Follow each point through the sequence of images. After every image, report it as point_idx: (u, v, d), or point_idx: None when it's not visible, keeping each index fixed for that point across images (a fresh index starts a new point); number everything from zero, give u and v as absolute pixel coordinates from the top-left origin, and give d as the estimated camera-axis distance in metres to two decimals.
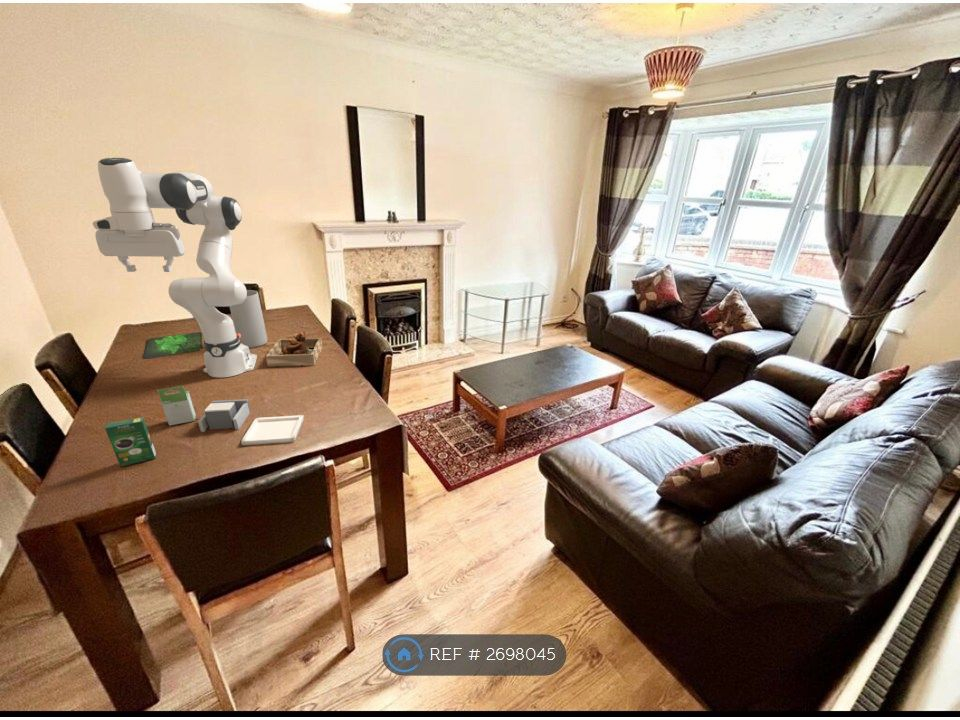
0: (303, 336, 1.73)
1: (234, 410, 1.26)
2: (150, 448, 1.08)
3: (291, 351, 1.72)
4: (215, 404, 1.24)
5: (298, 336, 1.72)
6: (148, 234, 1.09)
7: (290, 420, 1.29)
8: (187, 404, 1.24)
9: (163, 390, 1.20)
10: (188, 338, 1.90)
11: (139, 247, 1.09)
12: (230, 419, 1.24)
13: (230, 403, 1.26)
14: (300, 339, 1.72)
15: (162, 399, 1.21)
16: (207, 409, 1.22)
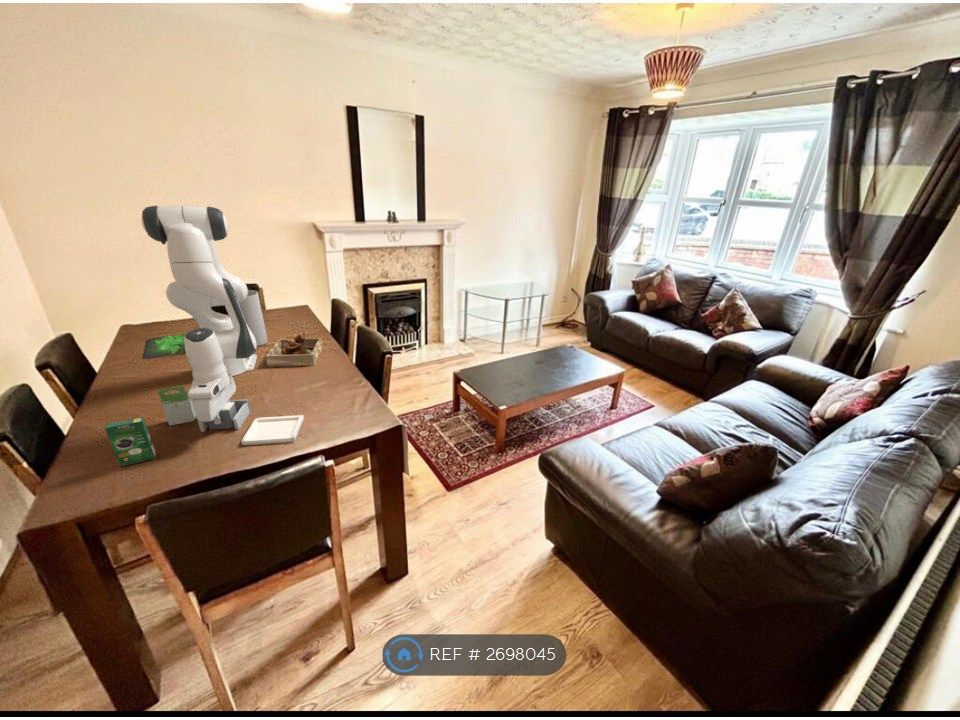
0: (302, 337, 1.71)
1: (234, 410, 1.26)
2: (150, 448, 1.08)
3: (290, 352, 1.71)
4: None
5: (298, 338, 1.70)
6: None
7: (290, 420, 1.29)
8: (187, 404, 1.24)
9: (163, 390, 1.20)
10: None
11: (223, 397, 1.23)
12: (230, 419, 1.24)
13: (230, 402, 1.26)
14: (299, 340, 1.71)
15: (162, 399, 1.21)
16: None
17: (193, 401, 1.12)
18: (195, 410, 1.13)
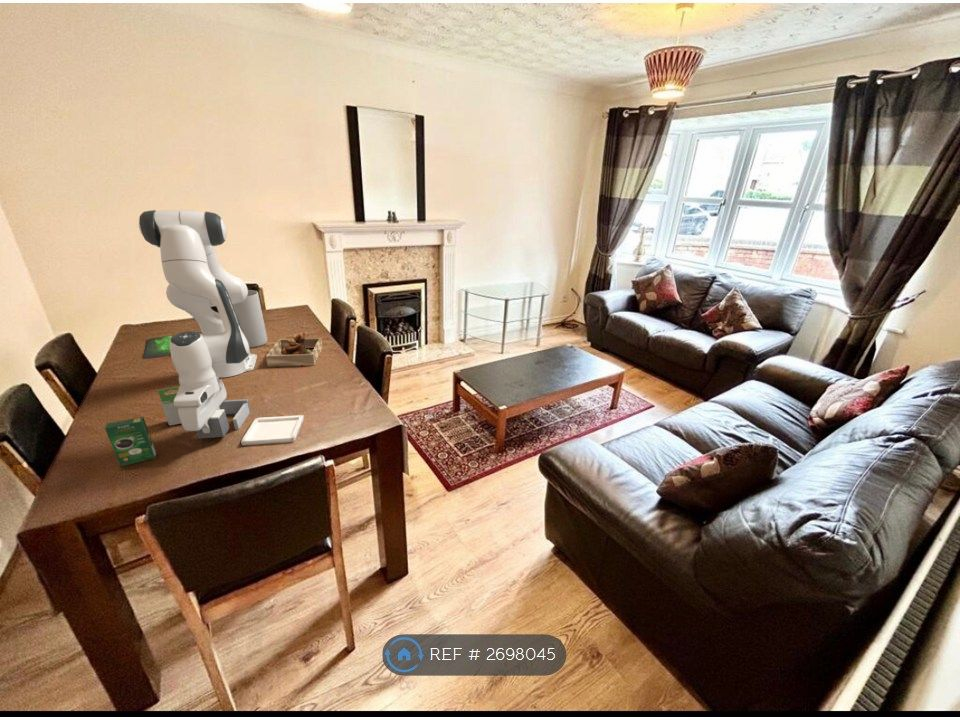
0: (302, 337, 1.71)
1: (224, 418, 1.19)
2: (150, 448, 1.08)
3: (290, 352, 1.71)
4: None
5: (298, 338, 1.70)
6: None
7: (290, 420, 1.29)
8: None
9: (163, 390, 1.20)
10: None
11: (213, 404, 1.16)
12: (220, 427, 1.17)
13: (220, 410, 1.18)
14: (299, 340, 1.71)
15: (162, 399, 1.21)
16: None
17: (179, 409, 1.05)
18: (181, 419, 1.06)
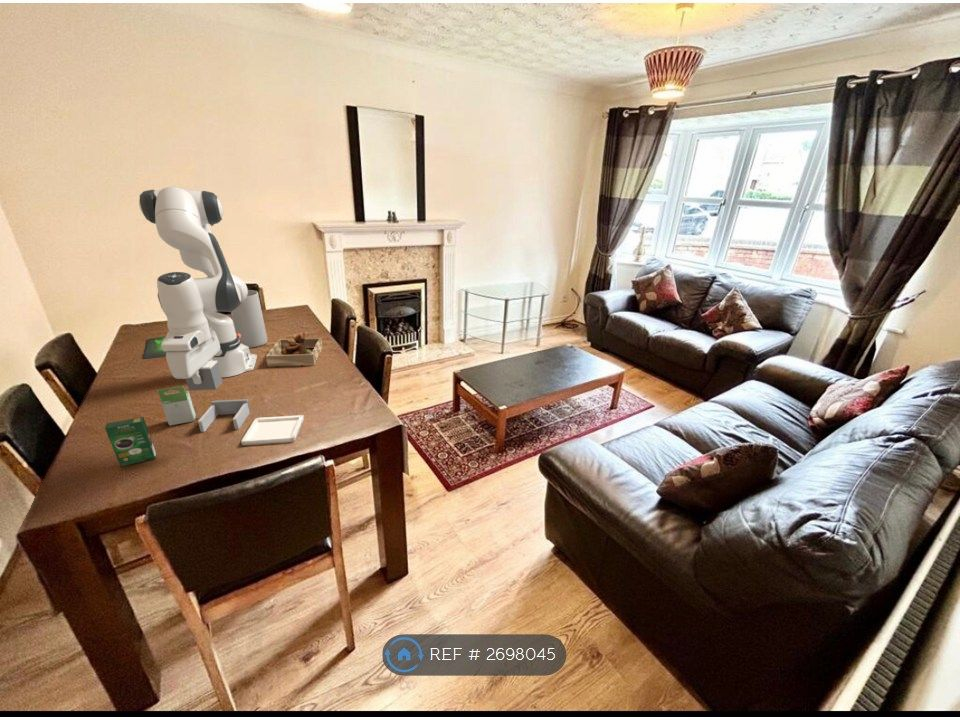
0: (302, 337, 1.71)
1: (217, 370, 1.12)
2: (150, 448, 1.08)
3: (290, 352, 1.71)
4: None
5: (298, 338, 1.70)
6: None
7: (290, 420, 1.29)
8: (187, 404, 1.24)
9: (163, 390, 1.20)
10: None
11: (204, 354, 1.09)
12: (212, 379, 1.09)
13: (212, 361, 1.11)
14: (299, 340, 1.71)
15: (162, 399, 1.21)
16: None
17: (167, 354, 0.98)
18: (169, 364, 0.98)
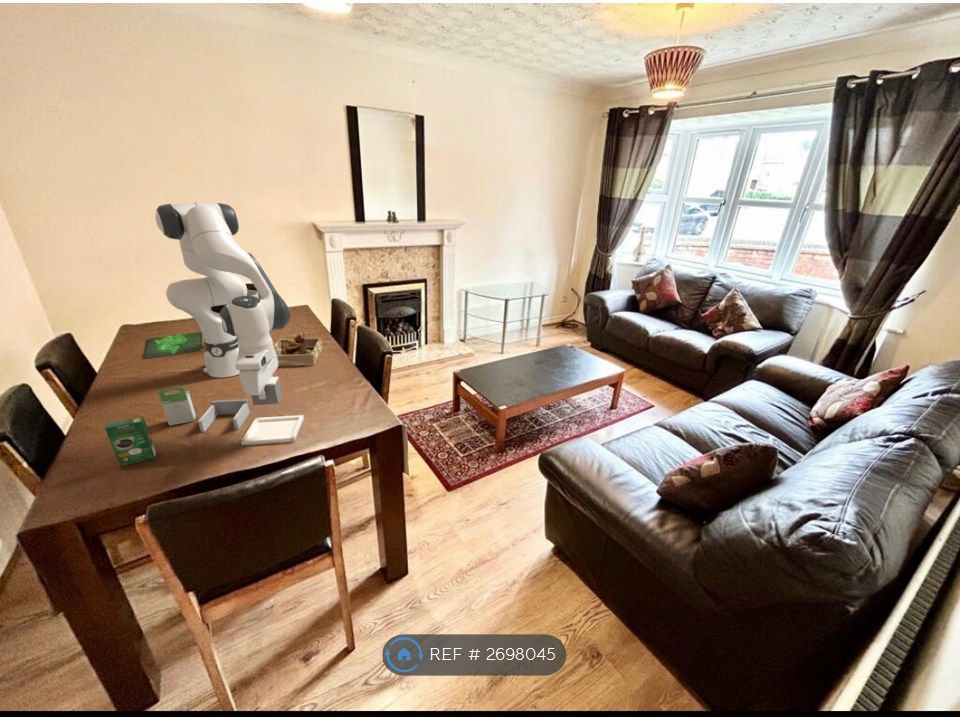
0: (302, 337, 1.71)
1: (278, 385, 1.19)
2: (150, 448, 1.08)
3: (290, 352, 1.71)
4: None
5: (298, 338, 1.70)
6: None
7: (290, 420, 1.29)
8: (187, 404, 1.24)
9: (163, 390, 1.20)
10: (188, 338, 1.90)
11: (268, 371, 1.16)
12: (275, 394, 1.17)
13: (274, 377, 1.18)
14: (299, 340, 1.71)
15: (162, 399, 1.21)
16: None
17: (240, 372, 1.05)
18: (242, 382, 1.06)
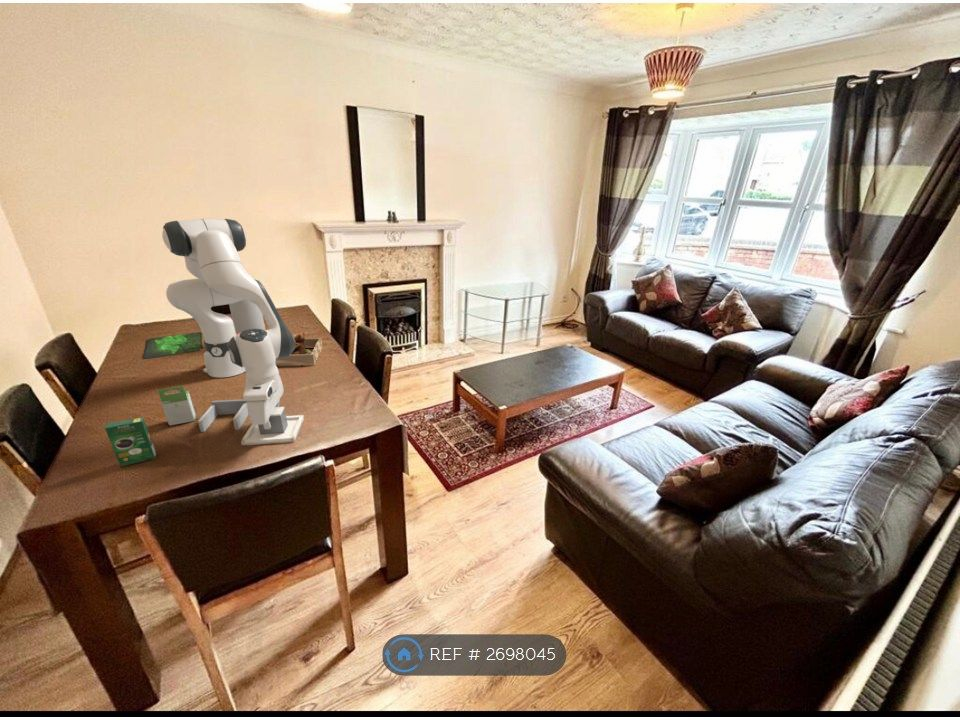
0: (302, 337, 1.71)
1: (284, 415, 1.24)
2: (150, 448, 1.08)
3: None
4: None
5: (298, 337, 1.70)
6: None
7: (290, 420, 1.29)
8: (187, 404, 1.24)
9: (163, 390, 1.20)
10: (188, 338, 1.90)
11: (274, 399, 1.20)
12: (281, 424, 1.21)
13: (280, 407, 1.23)
14: (299, 340, 1.71)
15: (162, 399, 1.21)
16: None
17: (248, 403, 1.10)
18: (250, 413, 1.10)
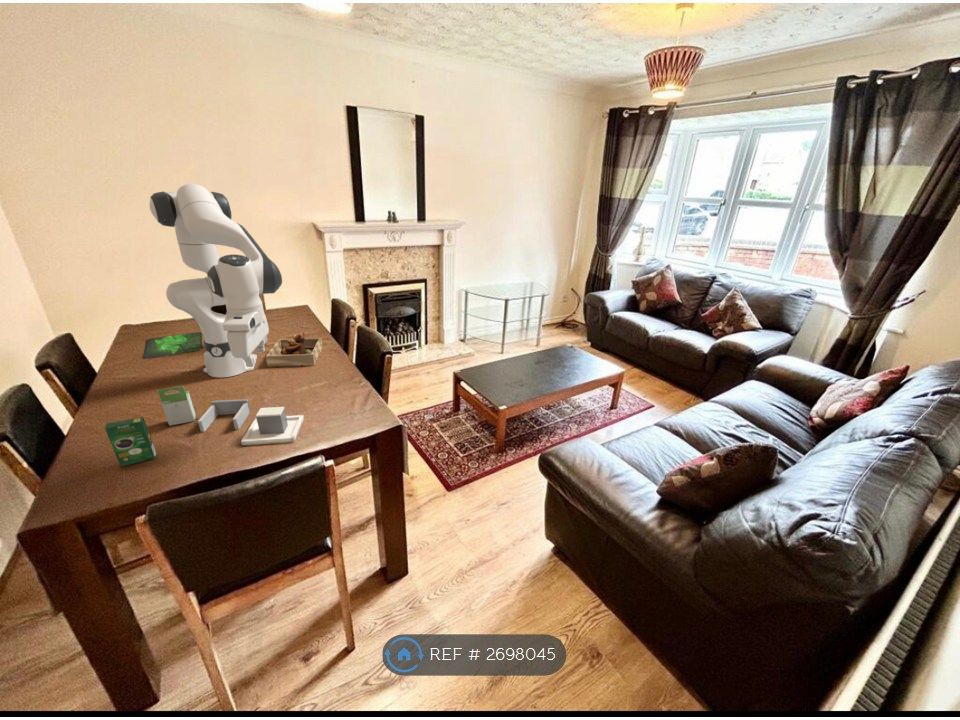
0: (302, 337, 1.71)
1: (284, 415, 1.24)
2: (150, 448, 1.08)
3: (290, 352, 1.71)
4: (265, 409, 1.22)
5: (297, 337, 1.70)
6: None
7: (290, 420, 1.29)
8: (187, 404, 1.24)
9: (163, 390, 1.20)
10: (188, 338, 1.90)
11: (258, 335, 1.12)
12: (281, 424, 1.21)
13: (280, 407, 1.23)
14: (299, 340, 1.71)
15: (162, 399, 1.21)
16: (258, 414, 1.19)
17: (228, 333, 1.01)
18: (230, 344, 1.02)
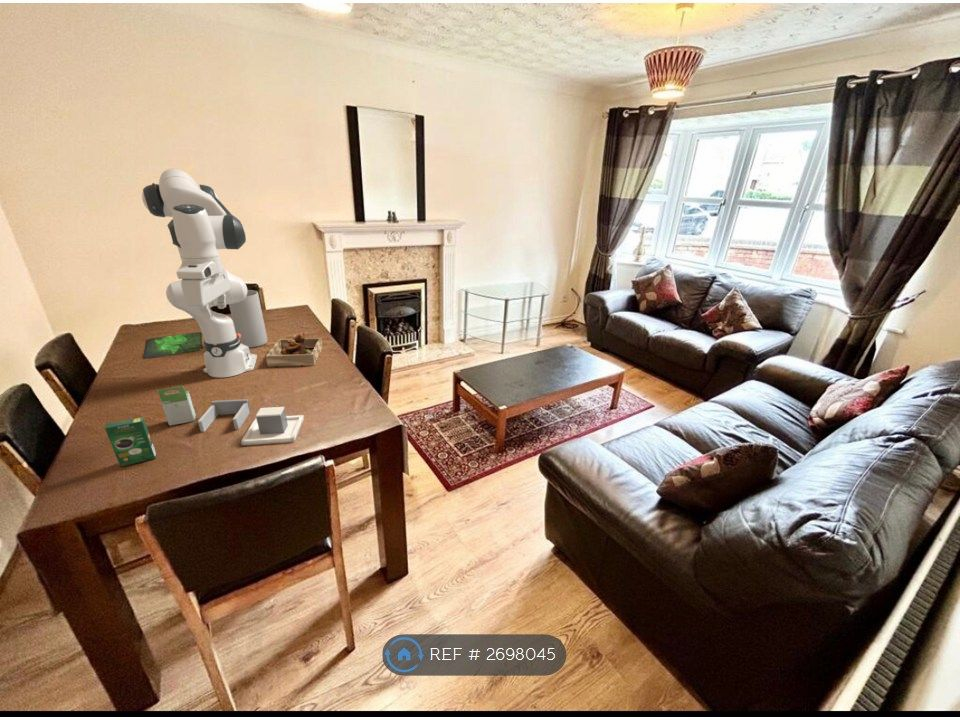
0: (302, 337, 1.71)
1: (284, 415, 1.24)
2: (150, 448, 1.08)
3: (290, 352, 1.71)
4: (265, 409, 1.22)
5: (298, 338, 1.70)
6: None
7: (290, 420, 1.29)
8: (187, 404, 1.24)
9: (163, 390, 1.20)
10: (188, 338, 1.90)
11: (216, 288, 1.13)
12: (281, 424, 1.21)
13: (280, 407, 1.23)
14: (299, 340, 1.71)
15: (162, 399, 1.21)
16: (258, 414, 1.19)
17: (182, 281, 1.02)
18: (184, 291, 1.03)
